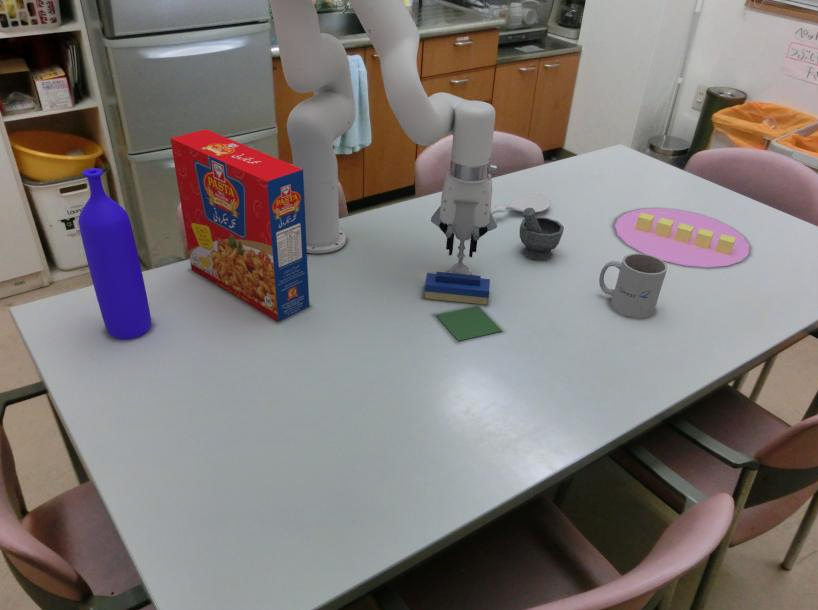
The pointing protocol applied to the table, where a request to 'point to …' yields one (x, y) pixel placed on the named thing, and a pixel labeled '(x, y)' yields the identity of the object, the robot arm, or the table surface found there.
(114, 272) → the bottle
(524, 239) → the mortar and pestle
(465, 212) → the chalice
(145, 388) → the table surface
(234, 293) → the pasta box
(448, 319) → the green cloth
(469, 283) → the brush
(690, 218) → the platter
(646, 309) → the mug
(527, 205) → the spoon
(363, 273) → the table surface
